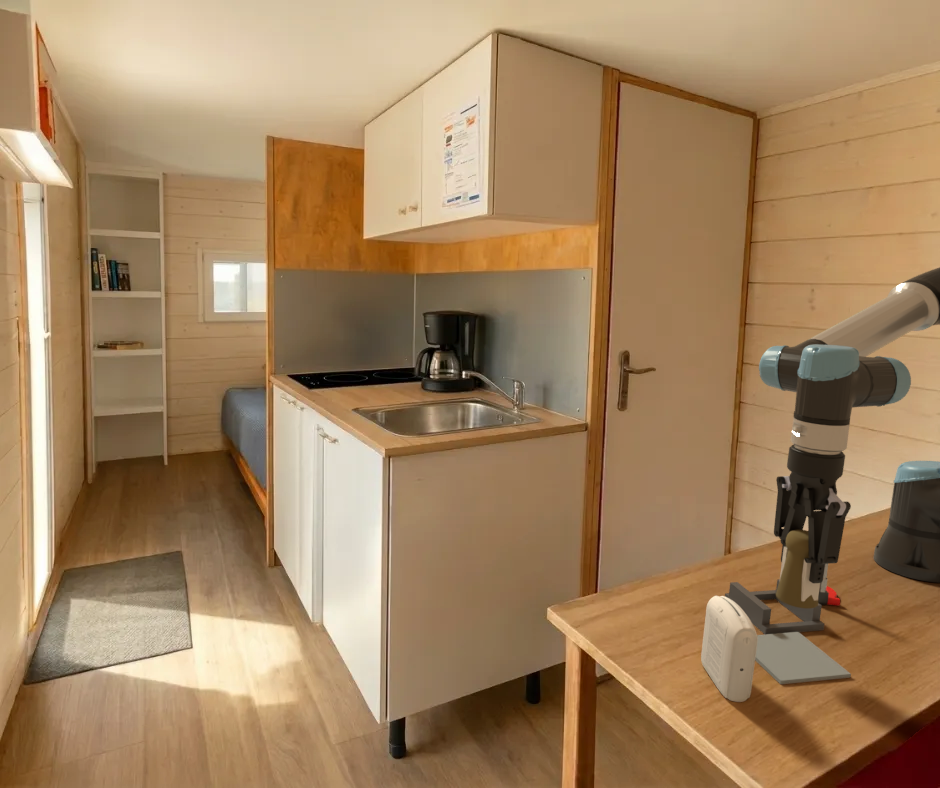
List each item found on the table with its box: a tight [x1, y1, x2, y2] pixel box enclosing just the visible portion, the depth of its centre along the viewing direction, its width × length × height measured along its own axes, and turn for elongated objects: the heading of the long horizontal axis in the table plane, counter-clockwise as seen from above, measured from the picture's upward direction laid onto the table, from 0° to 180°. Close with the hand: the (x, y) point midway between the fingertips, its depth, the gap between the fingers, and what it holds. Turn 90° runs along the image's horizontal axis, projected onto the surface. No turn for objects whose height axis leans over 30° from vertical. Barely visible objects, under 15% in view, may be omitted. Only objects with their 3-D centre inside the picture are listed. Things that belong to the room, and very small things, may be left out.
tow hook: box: [818, 564, 841, 607], centre depth 125 cm, size 8×13×9 cm
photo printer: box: [700, 595, 758, 703], centre depth 97 cm, size 10×4×12 cm, turn 3°
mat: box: [755, 632, 852, 685], centre depth 104 cm, size 12×12×1 cm
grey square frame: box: [724, 578, 825, 635], centre depth 117 cm, size 11×12×4 cm
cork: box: [776, 529, 819, 608], centre depth 101 cm, size 6×6×11 cm
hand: (797, 592), depth 102 cm, fingers closed on cork, 4 cm apart
